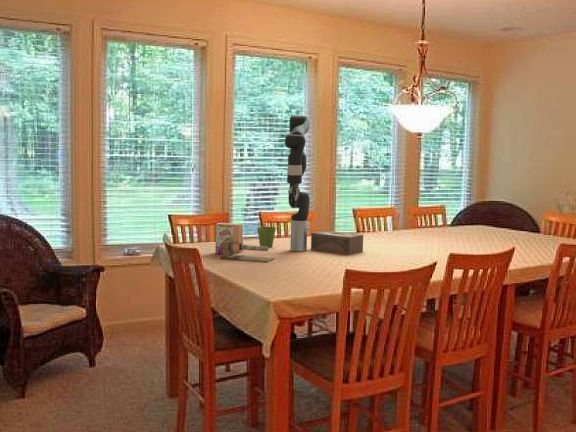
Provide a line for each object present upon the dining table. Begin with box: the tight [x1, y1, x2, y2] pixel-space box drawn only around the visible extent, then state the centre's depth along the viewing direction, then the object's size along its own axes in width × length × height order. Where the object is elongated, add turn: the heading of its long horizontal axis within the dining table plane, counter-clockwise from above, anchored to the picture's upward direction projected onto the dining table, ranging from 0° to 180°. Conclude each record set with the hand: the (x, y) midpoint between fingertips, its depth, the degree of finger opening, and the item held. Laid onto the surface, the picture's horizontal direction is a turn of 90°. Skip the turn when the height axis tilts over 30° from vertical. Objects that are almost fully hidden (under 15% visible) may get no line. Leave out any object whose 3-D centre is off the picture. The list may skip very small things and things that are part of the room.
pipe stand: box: [219, 241, 275, 264], centre depth 322 cm, size 10×26×8 cm, turn 72°
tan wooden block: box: [233, 223, 244, 255], centre depth 323 cm, size 6×3×15 cm, turn 162°
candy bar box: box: [215, 222, 237, 255], centre depth 336 cm, size 11×5×16 cm, turn 74°
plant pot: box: [256, 226, 277, 249], centre depth 363 cm, size 12×12×11 cm
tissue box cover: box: [310, 230, 364, 256], centre depth 356 cm, size 26×14×10 cm, turn 53°
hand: (293, 207), depth 321 cm, fingers closed
